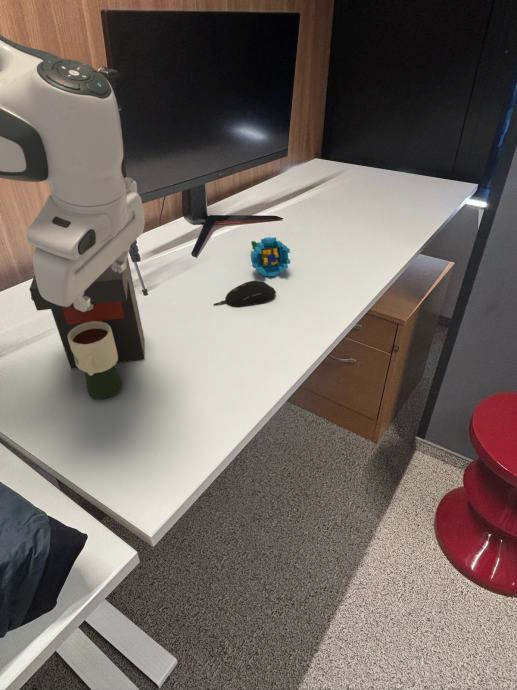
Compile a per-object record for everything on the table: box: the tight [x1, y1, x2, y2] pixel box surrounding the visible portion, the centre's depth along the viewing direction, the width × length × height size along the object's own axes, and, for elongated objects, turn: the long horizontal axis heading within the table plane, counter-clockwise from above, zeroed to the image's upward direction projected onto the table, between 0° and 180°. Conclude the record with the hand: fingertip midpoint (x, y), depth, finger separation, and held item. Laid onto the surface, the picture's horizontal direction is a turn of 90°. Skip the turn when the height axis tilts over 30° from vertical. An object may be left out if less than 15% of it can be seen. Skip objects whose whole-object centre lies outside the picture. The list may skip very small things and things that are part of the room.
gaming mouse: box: [213, 280, 277, 307], centre depth 110 cm, size 6×15×4 cm, turn 108°
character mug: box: [68, 321, 124, 400], centre depth 84 cm, size 11×7×13 cm, turn 6°
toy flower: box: [250, 236, 291, 277], centre depth 123 cm, size 9×9×18 cm
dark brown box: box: [28, 256, 146, 370], centre depth 87 cm, size 14×14×22 cm
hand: (101, 287), depth 71 cm, fingers open, 8 cm apart
